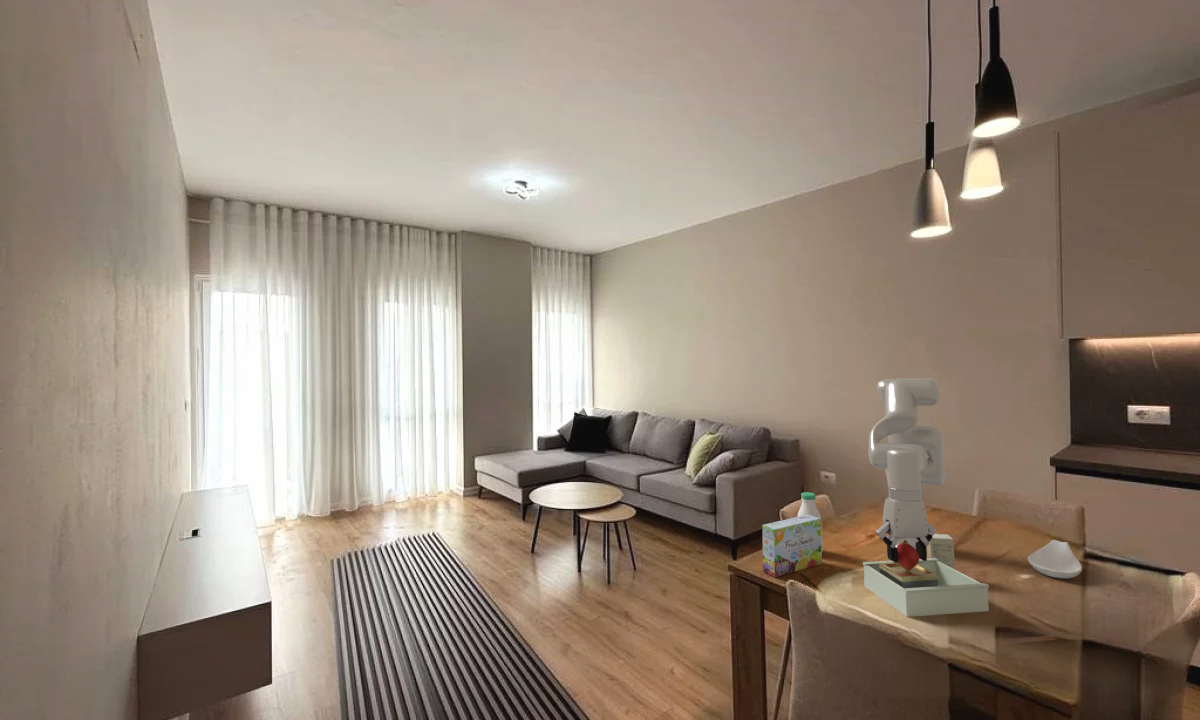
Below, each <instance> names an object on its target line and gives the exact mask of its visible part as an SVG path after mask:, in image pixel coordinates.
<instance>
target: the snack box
mask: <svg viewBox="0 0 1200 720" xmlns="http://www.w3.org/2000/svg"><path fill="white" fill-rule="evenodd" d="M821 524H822V517H821V518H817V517H814V516H811V515H804V516H799V517H798V516H795V517H791V518H787V519H783V520H778V521H773V522H769V523H766V524H762V525H761V526H762V527H761V528H762V572H763V573H765V574H767V575H769V576H770V577H773V578H777V577H781V576H785V575H788V574H791V573H795V572H798V571H802V570H805V569H808V568H812V567H815V566H819V565H822V562H823V560H822V553H823V552H822V553H821Z"/></svg>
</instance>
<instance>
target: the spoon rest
mask: <svg viewBox="0 0 1200 720" xmlns="http://www.w3.org/2000/svg"><path fill="white" fill-rule="evenodd" d="M1027 561H1028V563H1029V564H1030V565H1031V566H1032V568H1033V569H1035V570H1036V571H1037V572H1039V573H1040V574H1042V575H1045V576H1048V577H1051V578H1056V579H1067V580H1068V579H1072V578H1075V577H1077V576H1079V575H1080V573H1082V570H1083V566H1082V564H1081V563H1080V560H1079V559H1078V558H1077V557H1076V555H1075V554H1074V552H1073V551H1072V549H1071V546H1070V544H1069V542H1067V541H1066V542H1065V541H1064V542H1063V541H1059V540H1056V539H1053V540H1051V541H1050V542H1049V543H1047V544H1046V545H1044V546H1042V547H1040V548H1039V549H1037V550H1035V551H1033V552H1032V553H1031V554H1030V555H1028V557H1027Z"/></svg>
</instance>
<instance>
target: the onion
mask: <svg viewBox="0 0 1200 720" xmlns="http://www.w3.org/2000/svg"><path fill="white" fill-rule="evenodd" d="M896 548H897V549H898V564H899V565H900V566H902V567H903V568H904V569H905V570H908V571H909V570H911V569H912V568H913V567H915V566H916V565H917V564H918V562H919V559H920V558H919V555H918V552H917V551H916V550H915V549H914V548H913V547H912V546H911V545H909V544H908V543H907V541H906V540H904V541H903V542H902V543H901V544H899V545H898V546H897V547H896Z"/></svg>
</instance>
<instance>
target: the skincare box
mask: <svg viewBox="0 0 1200 720" xmlns="http://www.w3.org/2000/svg"><path fill="white" fill-rule="evenodd" d="M932 537H933V538H932V539H931V540H930V542H929V545H928V546H927V558H936V559H938V561H939V562H941V563H943V564H945V565H947V566H949V567H951V568H953V569H955V570H956V560H955V559H956V558H955V545H954V543H955V542H954V538H952V536H950V535H949V534H945V533H943V534H942V533H935V534H934V535H933V536H932Z"/></svg>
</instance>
